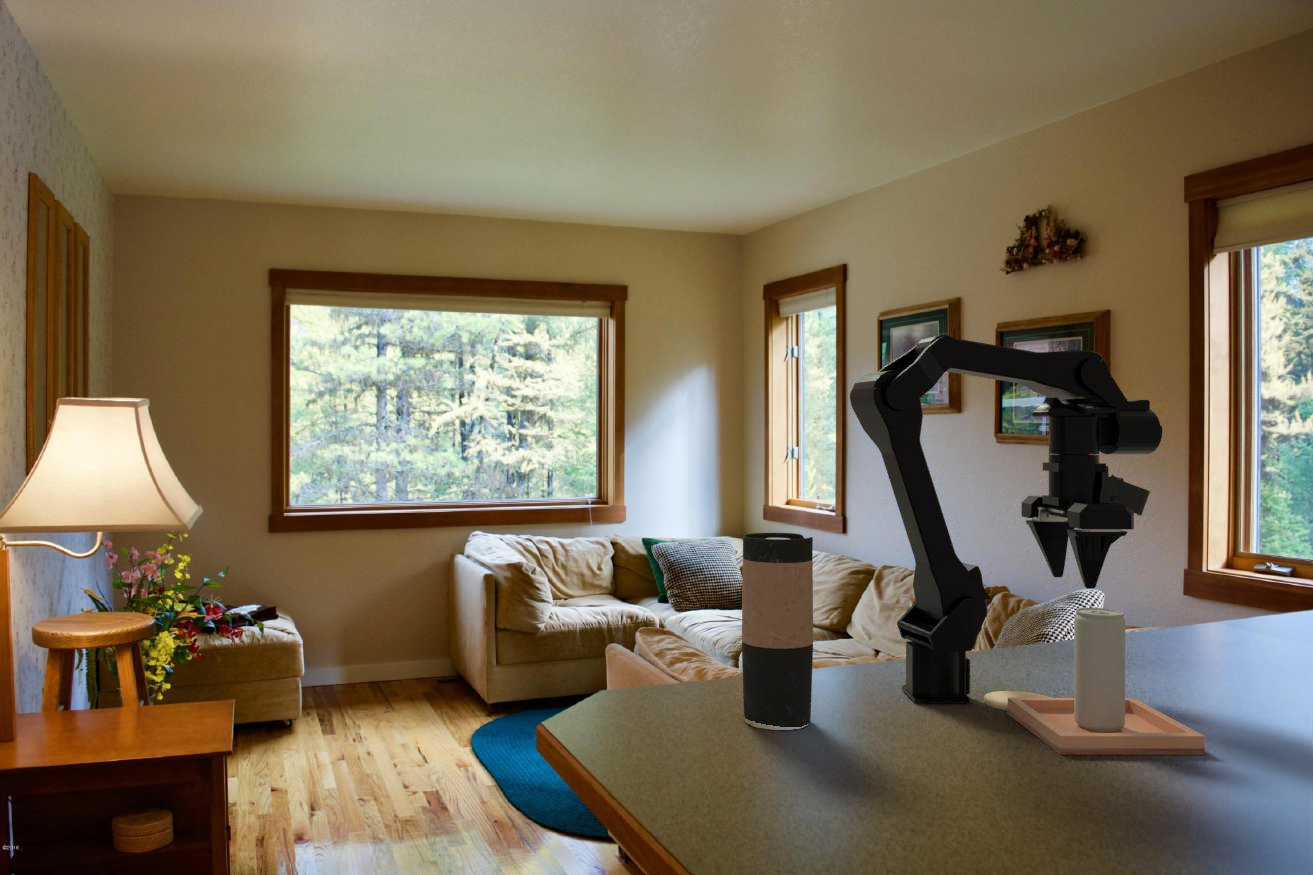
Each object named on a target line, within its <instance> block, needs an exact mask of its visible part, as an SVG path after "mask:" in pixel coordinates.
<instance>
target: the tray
mask: <svg viewBox="0 0 1313 875" xmlns="http://www.w3.org/2000/svg"><path fill="white" fill-rule="evenodd" d="M1007 715H1008V716H1010V717H1011V718H1012V719H1014V720H1015V721H1016V722H1018V723H1019V724H1020V725H1021V726H1023V727H1024V728H1025V729H1027V730H1028V732H1030V733H1032V734H1033V735H1034V736H1035V737H1037V738H1038V739H1039V740H1041V741H1042V742H1043V743H1044V744H1046V745H1047V746H1049V747H1050V748H1051V749H1052V750H1054V752H1056V753H1057V754H1059V755H1063V756H1064V755H1065V756H1067V755H1077V756H1079V755H1082V756H1085V755H1088V756H1089V755H1091V756H1092V755H1094V756H1096V755H1097V756H1099V755H1100V756H1101V755H1103V756H1105V755H1106V756H1107V755H1112V756H1114V755H1116V756H1117V755H1120V756H1121V755H1123V756H1128V755H1131V756H1133V755H1139V756H1141V755H1142V756H1144V755H1148V756H1149V755H1153V756H1154V755H1157V756H1160V755H1161V756H1164V755H1165V756H1166V755H1167V756H1168V755H1169V756H1172V755H1174V756H1175V755H1176V756H1180V755H1181V756H1186V755H1187V756H1188V755H1190V756H1191V755H1193V756H1194V755H1195V756H1196V755H1197V756H1204V755H1205V751H1206V750H1205V749H1206V747H1205V743H1206V742H1205V740H1206V737H1205V735H1204V734H1201V733H1200V732H1198V731H1196V730H1194V729H1192V728H1190V727H1188V726H1187V725H1185V724H1183V723H1181V722H1179V721H1177V720H1176V719H1173V718H1171V717H1169V716H1168V715H1166V714H1164V713H1162V712H1161V711H1159V710H1157V709H1155V708H1153V707H1151V706H1149V705H1148V704H1146V703H1144V702H1141V701H1140V700H1138V699H1137V698H1135V697H1125V725H1124V727H1123V728H1122V729H1121V730H1120V731H1117V732H1096V731H1091V730H1088V729H1085V728H1082V727H1080V726H1079V725H1078V724H1077V722H1076V721H1075V719H1074V697H1051V698H1008V711H1007Z"/></svg>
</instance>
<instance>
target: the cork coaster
mask: <svg viewBox="0 0 1313 875" xmlns="http://www.w3.org/2000/svg"><path fill="white" fill-rule="evenodd" d="M983 698H984V699H983V700H984V703H985V704H986V705H987V706H989V707H991V708H993V709H996V710H1000V711H1005V712H1008V698H1052V697H1050V696H1048V695H1044V694H1041V693H1040V694H1039V693H1034V692H1028V691H1020V690H998V691H992V692H988V693H986V694H985V695H984V697H983Z"/></svg>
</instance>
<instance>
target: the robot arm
mask: <svg viewBox="0 0 1313 875" xmlns="http://www.w3.org/2000/svg"><path fill="white" fill-rule="evenodd" d="M946 372H947V373H954V374H959V375H965V376H966V375H967V376H971V377H977V378H983V379H991V380H997V381H1003V382H1007V383H1008V382H1009V383H1014V384H1017V385H1018V384H1019V385H1022V386H1024V387H1027V388H1028V389H1030V390H1031V391H1032V392H1033V393H1036V394H1040V395H1042V396H1045V397H1046V398H1045V399H1044V401H1042V403H1041V404H1040V405H1039V406H1038V407H1037V408H1036V409H1035V410H1033V411H1032V412H1031V415H1032V417H1033V418H1048V462H1042V471H1046V472H1048V495H1047V494H1046V495H1045V494H1044V495H1028V496H1027V497H1026V498H1024V500H1022V501H1021V517H1023V518H1026V520H1025V523H1026V525H1027V526H1028V527H1029V529H1030V531H1031V532H1032V535H1033V537H1034V539H1035V540H1036V543H1037V545H1038V547H1039V548H1040V550H1041V553H1042V555H1043V557H1044V559H1045V561H1046V564H1047V566H1048V568H1049V571H1050V572H1051V575H1052V577H1054V578H1062V577H1063V576H1064V571H1065V567H1066V566H1065V565H1066V558H1067V552H1068V551H1067V550H1068V543H1069V542H1070V546H1071V548H1072V549H1071V550H1072V551H1073V555H1074V558H1075V562H1076V564H1077V568H1078V571H1079V575H1080V577H1081V579H1082V583H1083V585H1084V588H1086V589H1096V587H1097V585H1098V581H1099V578H1100V575H1101V573H1102V570H1103V567H1104V564H1105V561H1106V557H1107V555H1108V552H1109V549H1110V547H1111V546H1112V545H1113V544H1114V543H1115V542H1116V541H1117V540H1119V539H1120V538H1121V537H1125V536H1126V535H1127V534H1128V531H1126V530H1134V529H1135V514H1136V515H1137V516H1139V517H1141V516H1142V515H1143V512H1144V510H1145V506H1146V504H1147V502H1148V499H1149V496H1150V493H1151V490H1148V489H1145V488H1143V487H1141V486H1138V485H1134V484H1131V483H1129V482H1128V481H1127V482H1126V481H1125V480H1124V478H1123V477H1118V476H1115V475H1114V474H1112V473H1111V474H1110V473H1109V466H1108V465H1107V463H1105V462H1104V463H1103V462H1100V453H1101V454H1104V455H1150V454H1152V453H1154V452H1155V451H1156V450H1157V449H1158V448H1159V446H1160V444H1161V442H1162V439H1163V426H1162V425H1161V422H1160V420H1159V418H1158V415H1156V413H1155V412H1154V411H1153V410H1151V409H1150V408H1151V406H1150V404H1151V402H1150V400H1149V399H1133V400H1130V399H1129V400H1128V399H1127V397H1126V396H1125V394H1124V393H1123V391H1122V390H1121V388H1120V387H1119V385H1118V384H1117V382H1116V380H1115V379H1114V377H1113V376H1112V375H1111V373H1110V371H1109V369H1108V366H1107V363H1106V361H1105V360H1104V356H1103V355H1102V354H1101V353H1100V352H1096V351H1095V350H1089V349H1088V350H1087V349H1086V350H1084V349H1083V350H1082V349H1081V350H1059V351H1038V352H1037V351H1032V350H1025V349H1019V348H1015V347H1008V346H1002V345H996V344H992V343H991V344H990V343H985V342H979V341H973V340H966V339H961V338H956V337H953V336H951V335H949V334H937V335H934V336H929V337H928V336H927V337H925V338H922V339H921V340H920V341H919V342H918V343H917V344H915V345H914V346H913V347H912V348H910V349H909V350H908V351H907V352H905V353H903V354H902V355H900V356H898V357H897V358H896V359H893V361H890V362H889V363H888V364H886V365H885V366H883V367H882V368H881V369H879V370H878V371H877V372H873V373H867V374H864V375H862V376H861V377H859V378H858V379H857V380H856V382H854V384H853V387H852V389H851V390H850V392H849V393H850V394H849V399H850V405H851V408H852V410H853V412H854V414H855V415H856V418H857V420H858V422H859V424H860V426H861V427H862V429H863V431H864V432H865V433H866V435H867V437H869V438H870V440H871V441H872V442H873V444H875V446H876V448H878V450H879V451H880V454H881V457H882V460H883V463H884V467H885V470H886V473H887V476H888V479H889V482H890V485H891V488H892V493H893V494H894V497H895V500H896V505H897V508H898V511H899V514H900V517H901V520H902V523H903V526H904V530H905V532H906V536H907V538H908V542H909V545H910V548H911V551H912V554H913V557H914V563H915V567H914V574H913V575H914V576H913V580H912V581H913V582H912V587H913V594H914V595H913V596H914V601H915V602H914V603H913V604H912V605H911V606H910V607H909V608H908V609H907V611H905V613H903V615H902V616H901V617H900V619H898V620H897V622H896V626H897V628H898V632H899V634H900V636H901V638H902V639H904V640H908V641H905V684H902V685H901V691H903V692H904V693H905V695H906V696H908V697H909V698H910V699H911V701H913V702H914V703H917V704H969V703H971V702H972V699H971V697H970V696H969V695H970V694H971V660H970V659H969V657H967V653H966V652H970V651H973V648H974V645H975V641H976V639H977V636H978V633H979V630H980V628H981V627H982V626H983V624H984V621H985V620H986V619H987V617H988V612H989V610H988V604H987V601H986V600H988V601H989V600H991V596H990V595H989V594H988V592H987V591H986V589H985V586H984V582H983V576H982V575H983V574H982V572H981V570H980V567H979V566H978V565H974V564H969V563H966V562H962V561H961V560H960V558H959V557H958V555H957V554H956V550H955V547H954V544H953V542H952V539H951V535H950V532H949V529H948V526H947V521H946V518H945V515H944V513H943V510H942V507H941V506H942V505H941V504H940V500H939V498H938V494H937V491H936V487H935V484H934V482H933V478H932V476H931V472H930V469H929V465H928V463H927V460H926V455H925V452H924V450H923V447H922V446H923V445H922V443H921V442H922V441H921V432H922V426H923V418H924V415H923V414H924V412H923V406H922V400H921V397H923V396H924V395H926V393H928V392H929V391H930V390H932V388H933V387H935V386H936V384H937V383H938V381H940V379H941V378H942V376H944V374H945V373H946ZM1062 401H1064V403H1063V402H1062ZM1089 408H1090V409H1091V411H1090V409H1089Z"/></svg>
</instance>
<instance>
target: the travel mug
mask: <svg viewBox="0 0 1313 875" xmlns="http://www.w3.org/2000/svg"><path fill="white" fill-rule="evenodd" d="M813 542H814V538H813V536H811V537H810V536H809V537H806V538H805V537H804V535H802V534H800V533H795V532H794V533H792V532H755V533H748V534H747V533H746V534H744V535H743V537H742V581H741V582H742V586H741V588H742V590H741V591H742V592H741V593H742V595H741V599H742V600H741V658H742V659H741V660H742V662H741V664H742V665H741V666H742V695H743V696H742V698H743V699H742V700H743V701H742V702H743V717H744V716H745V718H746V719H748V720H750V721H755V722H756V723H761V724H766V725H773V726H780V727H802V726H804V725H807V724H809V723H811V718H812V717H811V716H812V715H811V714H812V692H813V691H812V690H813V689H812V688H813V687H812V685H813V662H814V661H813V660H814V659H813V658H814V652H813V651H814V644H813V643H814V587H813V586H814V582H813V581H814V575H813V573H814V572H813V571H814V568H813V567H814V566H813V565H814V564H813V562H814V561H813V558H814V557H813V556H814V555H813V546H814V545H813ZM809 725H810V724H809Z"/></svg>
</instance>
